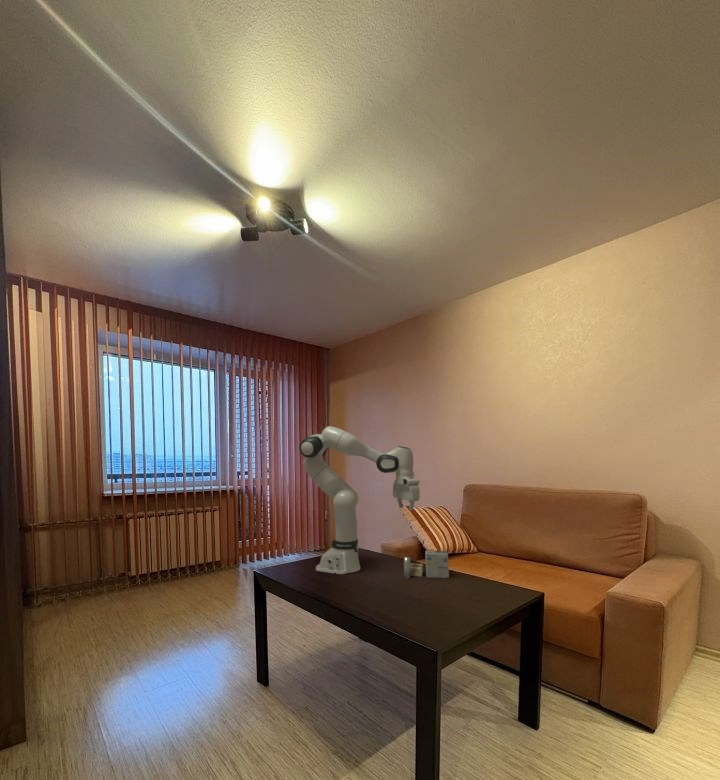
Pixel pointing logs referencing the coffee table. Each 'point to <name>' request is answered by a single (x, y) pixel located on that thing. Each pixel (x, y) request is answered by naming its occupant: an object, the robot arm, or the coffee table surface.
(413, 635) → the coffee table surface
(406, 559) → the peg
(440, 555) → the light bulb box
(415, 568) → the hole block
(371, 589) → the coffee table surface
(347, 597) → the coffee table surface
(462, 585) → the coffee table surface
